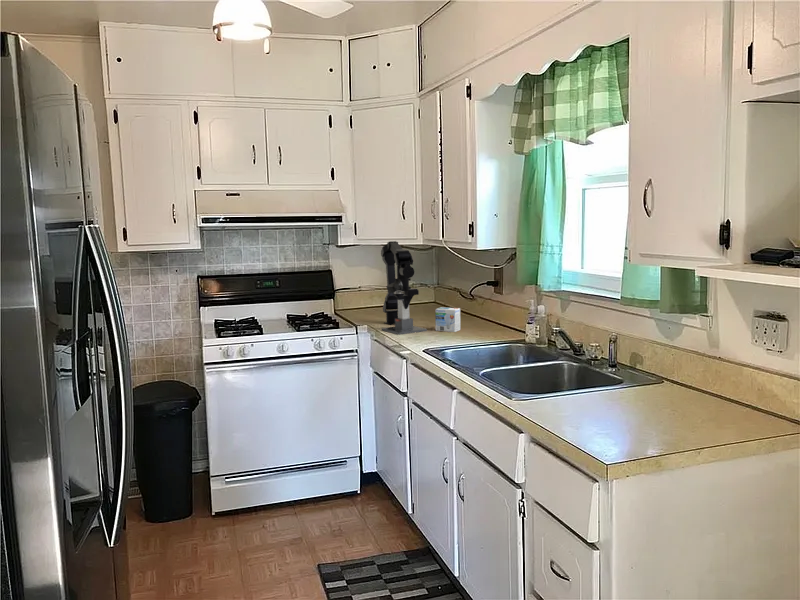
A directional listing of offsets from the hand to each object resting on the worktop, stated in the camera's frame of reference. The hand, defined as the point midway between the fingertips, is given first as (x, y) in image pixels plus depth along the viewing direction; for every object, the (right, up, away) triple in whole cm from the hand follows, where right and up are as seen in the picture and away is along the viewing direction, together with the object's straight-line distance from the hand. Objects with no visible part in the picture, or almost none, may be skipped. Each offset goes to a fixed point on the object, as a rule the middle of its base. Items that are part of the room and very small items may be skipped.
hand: (403, 308), depth 327 cm
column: (0, -6, +1) cm, 6 cm away
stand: (0, -11, +1) cm, 11 cm away
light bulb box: (+22, -11, 0) cm, 24 cm away
